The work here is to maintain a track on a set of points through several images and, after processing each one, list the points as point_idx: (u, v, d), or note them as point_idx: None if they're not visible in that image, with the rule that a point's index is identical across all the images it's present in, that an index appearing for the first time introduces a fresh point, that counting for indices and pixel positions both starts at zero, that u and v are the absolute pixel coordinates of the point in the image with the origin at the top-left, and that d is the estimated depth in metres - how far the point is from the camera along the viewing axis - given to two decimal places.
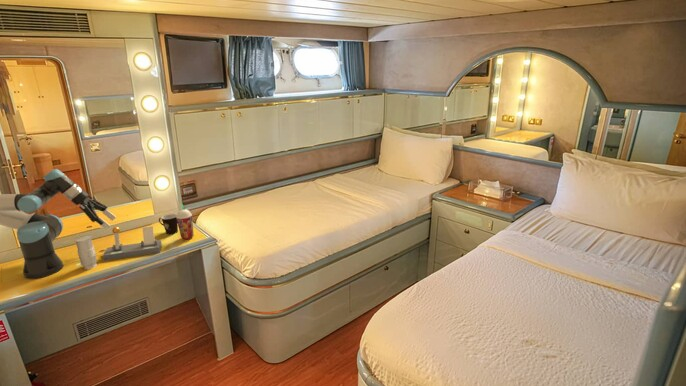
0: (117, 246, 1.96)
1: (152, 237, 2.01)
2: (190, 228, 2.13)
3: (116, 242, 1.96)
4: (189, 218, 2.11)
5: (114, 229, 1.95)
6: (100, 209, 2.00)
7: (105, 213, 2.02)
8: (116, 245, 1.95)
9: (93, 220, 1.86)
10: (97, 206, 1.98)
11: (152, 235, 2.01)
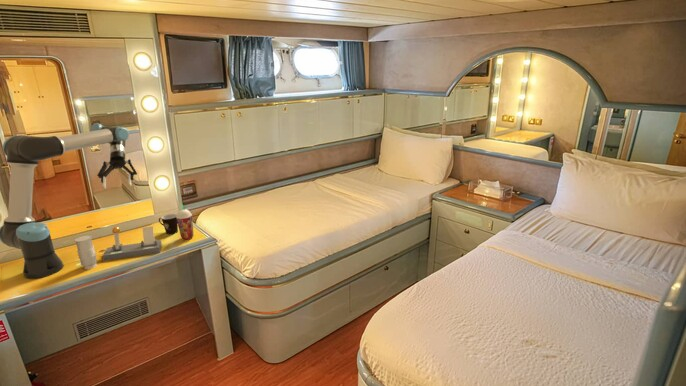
0: (117, 246, 1.96)
1: (152, 237, 2.01)
2: (190, 228, 2.13)
3: (116, 242, 1.96)
4: (189, 218, 2.11)
5: (114, 229, 1.95)
6: (106, 174, 2.11)
7: (105, 178, 2.10)
8: (116, 245, 1.95)
9: (136, 172, 2.15)
10: (110, 171, 2.13)
11: (152, 235, 2.01)
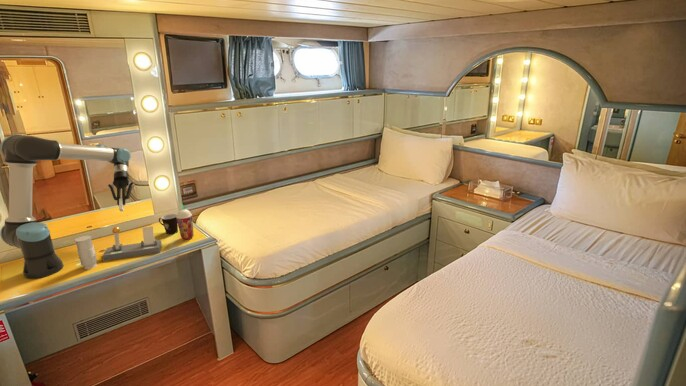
0: (117, 246, 1.96)
1: (152, 237, 2.01)
2: (190, 228, 2.13)
3: (116, 242, 1.96)
4: (189, 218, 2.11)
5: (114, 229, 1.95)
6: (119, 195, 2.12)
7: None
8: (116, 245, 1.95)
9: (128, 197, 2.13)
10: (120, 191, 2.14)
11: (152, 235, 2.01)
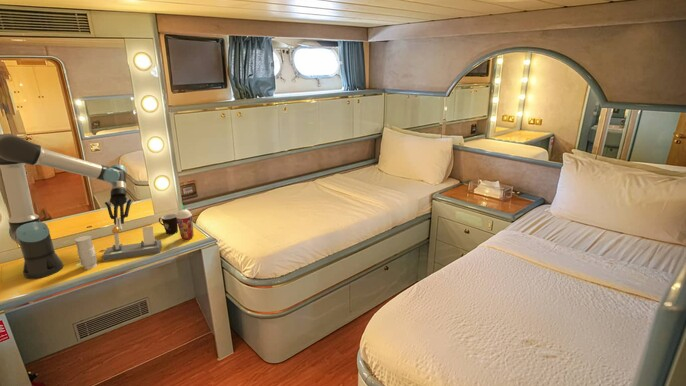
0: (117, 246, 1.95)
1: (152, 237, 2.01)
2: (190, 228, 2.13)
3: (116, 242, 1.95)
4: (189, 218, 2.11)
5: (114, 229, 1.95)
6: (116, 213, 2.03)
7: (118, 220, 2.01)
8: (116, 245, 1.95)
9: (126, 215, 2.04)
10: (117, 209, 2.05)
11: (152, 235, 2.01)
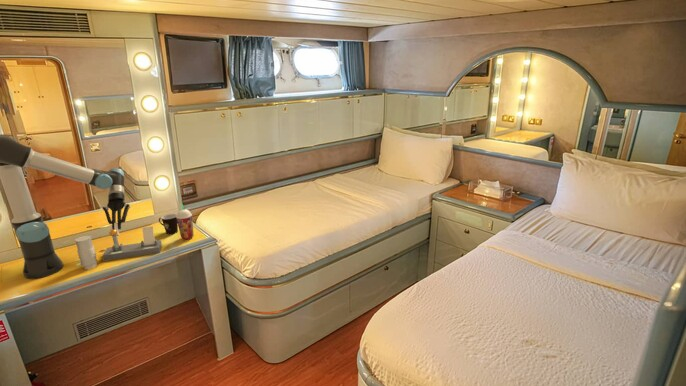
0: (117, 247, 1.95)
1: (152, 237, 2.01)
2: (190, 228, 2.13)
3: (115, 244, 1.94)
4: (189, 218, 2.11)
5: (111, 233, 1.90)
6: (114, 219, 1.98)
7: None
8: (116, 246, 1.94)
9: (123, 220, 1.99)
10: (115, 214, 2.00)
11: (152, 235, 2.01)
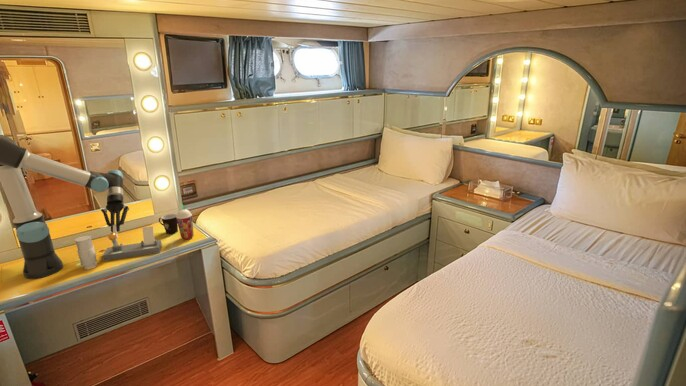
0: (117, 248, 1.95)
1: (152, 237, 2.01)
2: (190, 228, 2.13)
3: (115, 246, 1.93)
4: (189, 218, 2.11)
5: (111, 238, 1.88)
6: (113, 221, 1.96)
7: None
8: (116, 248, 1.94)
9: (122, 222, 1.96)
10: (114, 216, 1.98)
11: (152, 235, 2.01)
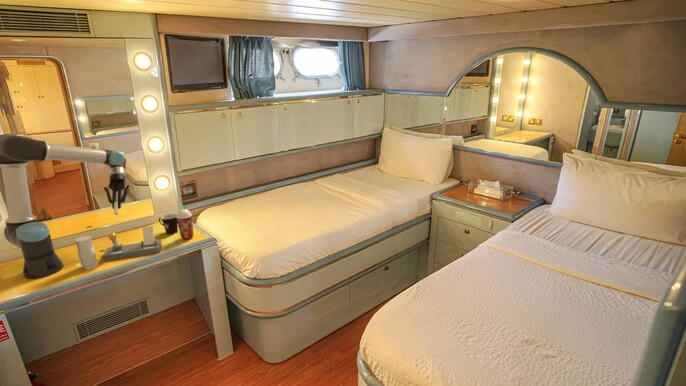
0: (117, 248, 1.95)
1: (152, 237, 2.01)
2: (190, 228, 2.13)
3: (115, 246, 1.93)
4: (189, 218, 2.11)
5: (111, 238, 1.88)
6: (115, 198, 2.06)
7: None
8: (116, 248, 1.94)
9: (123, 200, 2.07)
10: (115, 194, 2.08)
11: (152, 235, 2.01)
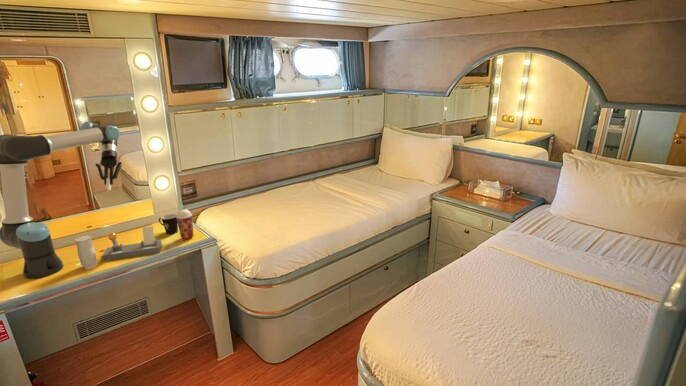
0: (117, 248, 1.95)
1: (152, 237, 2.01)
2: (190, 228, 2.13)
3: (115, 246, 1.93)
4: (189, 218, 2.11)
5: (111, 238, 1.88)
6: (107, 174, 2.07)
7: None
8: (116, 248, 1.94)
9: (115, 176, 2.07)
10: (107, 171, 2.09)
11: (152, 235, 2.01)
